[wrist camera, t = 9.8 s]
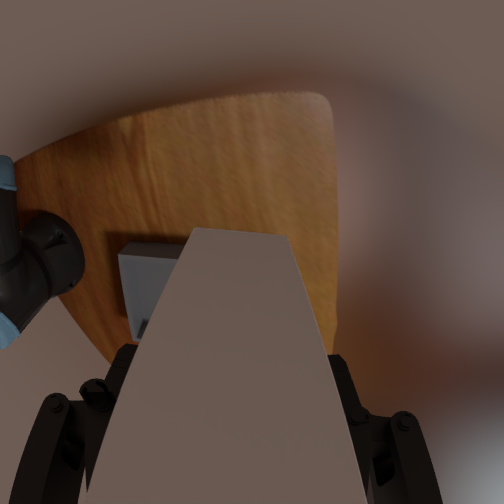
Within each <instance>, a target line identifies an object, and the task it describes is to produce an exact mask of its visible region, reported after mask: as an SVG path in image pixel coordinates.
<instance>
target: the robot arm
mask: <svg viewBox="0 0 504 504" xmlns="http://www.w3.org/2000/svg"><path fill="white" fill-rule="evenodd" d="M16 191H17V187H16V184H15V172H14V164H13V161H12V160H11V158H10V157H8V156H4V155H0V349H4V348H7V347H8V346H9V345H10V344H11V343H12V342H13V341H14V340H15V339H16V338H17V337H19V335H20V334H21V332H22V331H23V330H24V329H25V327H26V326H27V325H28V324H29V323H30V321H31V320H32V319H33V317H34V316H35V315H36V314H37V313H38V312H39V311H40V309H41V308H42V307H43V306H44V305H45V304H46V303H47V301H48V300H49V299H51V298H54V297H56V296H58V295H61V294H63V293H66V292H68V291H70V290H71V289H73V288H74V287H75V286H76V284H77V283H78V282H79V281H80V280H81V278H82V276H83V273H84V268H85V258H84V253H83V249H82V246H81V243H80V241H79V239H78V237H77V235H76V233H75V232H74V230H73V229H72V228H71V227H70V225H69V224H68V223H67V222H65V221H64V220H63V219H62V218H60V217H58V216H56V215H54V214H49V213H45V214H41V215H38V216H37V217H35V218H33V219H31V220H30V221H29V222H28V223H27V224H26V226H25V227H24V228H23V230H22V231H21V232H20V228H19V220H18V210H17V197H16ZM159 299H160V298H159ZM158 301H159V300H158ZM157 303H158V302H157ZM153 312H154V311H153ZM152 314H153V313H152ZM149 321H150V320H149ZM148 323H149V322H148ZM146 328H147V327H146ZM145 330H146V329H145ZM144 332H145V331H144ZM142 337H143V336H142ZM141 339H142V338H141ZM139 344H140V343H139ZM138 346H139V345H133V344H127V343H126V344H125V345H124V346H122V347H121V348H120V349H119V350H118V352H117V354H116V356H115V358H114V360H113V363H112V365H111V367H110V369H109V371H108V374H107V376H106V378H105V380H102V379H97V378H96V379H90V380H88V381H86V382H85V383H84V384H83V385H82V386H81V388H80V391H79V392H80V394H81V396H82V398H83V399H84V400H83V401H81V400H80V401H69V400H68V398H67V397H66V396H65V395H63V394H61V393H53V394H50V395H49V396H47V397H46V398H45V400H44V401H43V403H42V406H41V408H40V410H39V412H38V415H37V417H36V420H35V422H34V425H33V427H32V430H31V432H30V435H29V437H28V440H27V443H26V446H25V449H24V451H23V454H22V457H21V460H20V463H19V467H18V470H17V473H16V477H15V480H14V484H13V487H12V491H11V495H10V500H9V504H78V498H79V493H80V487H81V483H82V478H83V473H84V469H85V471H86V487H87V492H88V488H89V485H90V481H91V478H92V474H93V471H94V467H95V464H96V461H97V458H98V454H99V451H100V448H101V445H102V442H103V439H104V436H105V433H106V430H107V427H108V424H109V421H110V418H111V416H112V413H113V410H114V407H115V405H116V402H117V399H118V396H119V394H120V391H121V389H122V386H123V383H124V381H125V378H126V376H127V373H128V371H129V368H130V366H131V363H132V361H133V358H134V356H135V353H136V351H137V349H138ZM327 357H328V360H329V363H330V366H331V370H332V373H333V376H334V379H335V383H336V386H337V390H338V393H339V396H340V400H341V403H342V407H343V410H344V414H345V417H346V421H347V425H348V428H349V432H350V436H351V439H352V443H353V447H354V451H355V455H356V458H357V462H358V466H359V470H360V474H361V478H362V483H363V487H364V491H365V495H366V498H367V490H368V481H369V473H370V478H371V484H372V490H373V497H374V503H375V504H443V502H442V499H441V495H440V490H439V486H438V483H437V479H436V476H435V472H434V469H433V465H432V462H431V458H430V455H429V452H428V449H427V446H426V443H425V440H424V437H423V434H422V431H421V428H420V426H419V423H418V420H417V419H416V417H415V416H414V415H413V414H412V413H409V412H407V411H400V412H397V413H395V414H394V415H393V416H392V417H381V416H375V415H372V414H370V413H369V411H368V410H367V409H365V408H364V407H362V406H361V403H360V401H359V398H358V395H357V392H356V389H355V386H354V383H353V381H352V379H351V375H350V373H349V370H348V367H347V364H346V362H345V361H344V359H343V358H342V357H341V356H340V355H339V354H337V355H327Z"/></svg>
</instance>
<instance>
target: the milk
mask: <svg viewBox="0 0 504 504" xmlns="http://www.w3.org/2000/svg"><path fill="white" fill-rule="evenodd" d="M85 504H367V500H366V495H365V491H364V487H363V483H362V478H361V474H360V470H359V466H358V462H357V458H356V455H355V451H354V447H353V443H352V439H351V436H350V432H349V428H348V425H347V421H346V417H345V414H344V410H343V407H342V403H341V400H340V396H339V393H338V390H337V386H336V383H335V379H334V376H333V373H332V370H331V366H330V363H329V360H328V357H327V353H326V350H325V347H324V344H323V341H322V337H321V334H320V331H319V328H318V325H317V322H316V319H315V316H314V313H313V310H312V307H311V304H310V301H309V298H308V295H307V292H306V289H305V286H304V283H303V280H302V277H301V274H300V272H299V269H298V266H297V263H296V260H295V257H294V254H293V252H292V249H291V246H290V243H289V241H288V238H287V236H284V235H274V234H264V233H254V232H243V231H232V230H221V229H209V228H197V227H195V228H194V229H193V231H192V233H191V235H190V237H189V239H188V241H187V243H186V245H185V247H184V249H183V251H182V253H181V255H180V257H179V259H178V261H177V263H176V265H175V267H174V269H173V271H172V273H171V275H170V277H169V279H168V281H167V284H166V286H165V288H164V290H163V292H162V294H161V296H160V299H159V301H158V303H157V305H156V307H155V309H154V312H153V314H152V316H151V318H150V321H149V323H148V325H147V328H146V330H145V332H144V334H143V337H142V339H141V341H140V344H139V346H138V349H137V351H136V353H135V356H134V358H133V361H132V363H131V366H130V368H129V371H128V373H127V376H126V378H125V381H124V383H123V386H122V389H121V391H120V394H119V396H118V399H117V402H116V405H115V407H114V410H113V413H112V416H111V418H110V421H109V424H108V427H107V430H106V433H105V436H104V439H103V442H102V445H101V448H100V451H99V454H98V458H97V461H96V464H95V467H94V471H93V474H92V478H91V481H90V485H89V488H88V492H87V496H86V500H85Z"/></svg>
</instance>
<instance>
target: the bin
mask: <svg viewBox="0 0 504 504" xmlns="http://www.w3.org/2000/svg"><path fill="white" fill-rule="evenodd" d="M184 247H185V245H178V244H165V243H151V242H137V241H130V242H129V243H128V244H127V245H126V246H125V247H124V248H123V249H122V250H121V251H120V252H119V253H118V261H119V268H120V275H121V282H122V288H123V294H124V300H125V305H126V310H127V315H128V320H129V325H130V330H131V334H132V339H133V341H137V342H140V341H141V338H142V336H143V334H144V331H145V329H146V327H147V325H148V322H149V320H150V318H151V316H152V313H153V311H154V309H155V307H156V305H157V302H158V300H159V298H160V296H161V294H162V292H163V290H164V288H165V286H166V284H167V281H168V279H169V277H170V275H171V273H172V271H173V269H174V267H175V265H176V263H177V261H178V259H179V257H180V255H181V253H182V251H183V249H184Z"/></svg>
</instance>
